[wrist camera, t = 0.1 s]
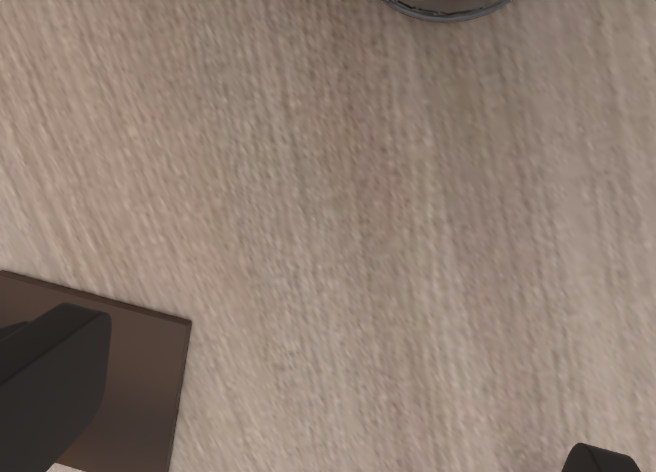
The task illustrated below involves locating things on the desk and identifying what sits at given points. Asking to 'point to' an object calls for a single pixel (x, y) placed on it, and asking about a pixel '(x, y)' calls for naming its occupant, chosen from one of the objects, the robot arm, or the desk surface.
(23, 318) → the coaster
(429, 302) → the desk surface
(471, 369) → the desk surface
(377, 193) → the desk surface
